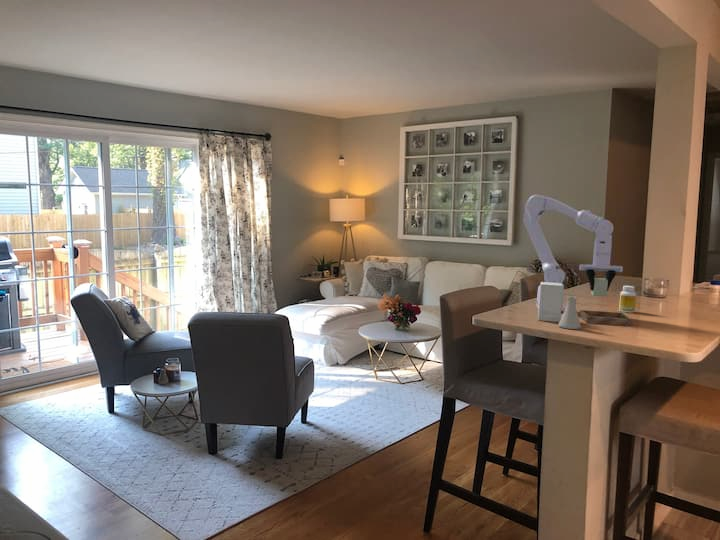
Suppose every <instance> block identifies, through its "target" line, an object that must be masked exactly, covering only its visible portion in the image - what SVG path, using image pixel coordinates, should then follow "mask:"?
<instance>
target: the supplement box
mask: <svg viewBox="0 0 720 540" xmlns="http://www.w3.org/2000/svg"><path fill="white" fill-rule="evenodd" d="M562 283H563V282H562ZM562 283H550V282H545V281H540V284H539V286H540V294H539V307H538V308H537V310H538V311H537V320H538V321H542V322H543V321H544V322H553V323H559V322H560V320H561V318H562V315H561V314H562V311H561V305H562V293H563V285H564V284H563V285H562Z"/></svg>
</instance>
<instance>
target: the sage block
mask: <svg viewBox="0 0 720 540" xmlns="http://www.w3.org/2000/svg"><path fill="white" fill-rule="evenodd" d="M607 285H608V280H607V279H606V278H604V277H603V278H601V277H598V278H597V277H595V278H594V290H593V291H591V290H590V295H592V296H594V297H603V298H605V297H607V295H608V291H607Z"/></svg>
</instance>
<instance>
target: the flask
mask: <svg viewBox="0 0 720 540" xmlns="http://www.w3.org/2000/svg"><path fill="white" fill-rule="evenodd" d="M566 299H567V301H566V306H565V309H564V310H565V311H564V312H563V314H562V315H561V318H560V322H558V327H559V328H563V329H566V330H567V329H568V330H580V329H582V326H581V322H580V319H579V315H578V312H577V311H578V310H577V300H578V297H577V296H570V295H569V296H566Z"/></svg>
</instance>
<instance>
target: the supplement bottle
mask: <svg viewBox="0 0 720 540" xmlns="http://www.w3.org/2000/svg"><path fill="white" fill-rule="evenodd" d="M635 288H636V287H635V286H632V285H623V286H622V291H620V294H619V303H618V304H619V306H618V312H620V313H627V312H628V313H635V309H636V298H637V297H636V296H637V293H636V292H635Z"/></svg>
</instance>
